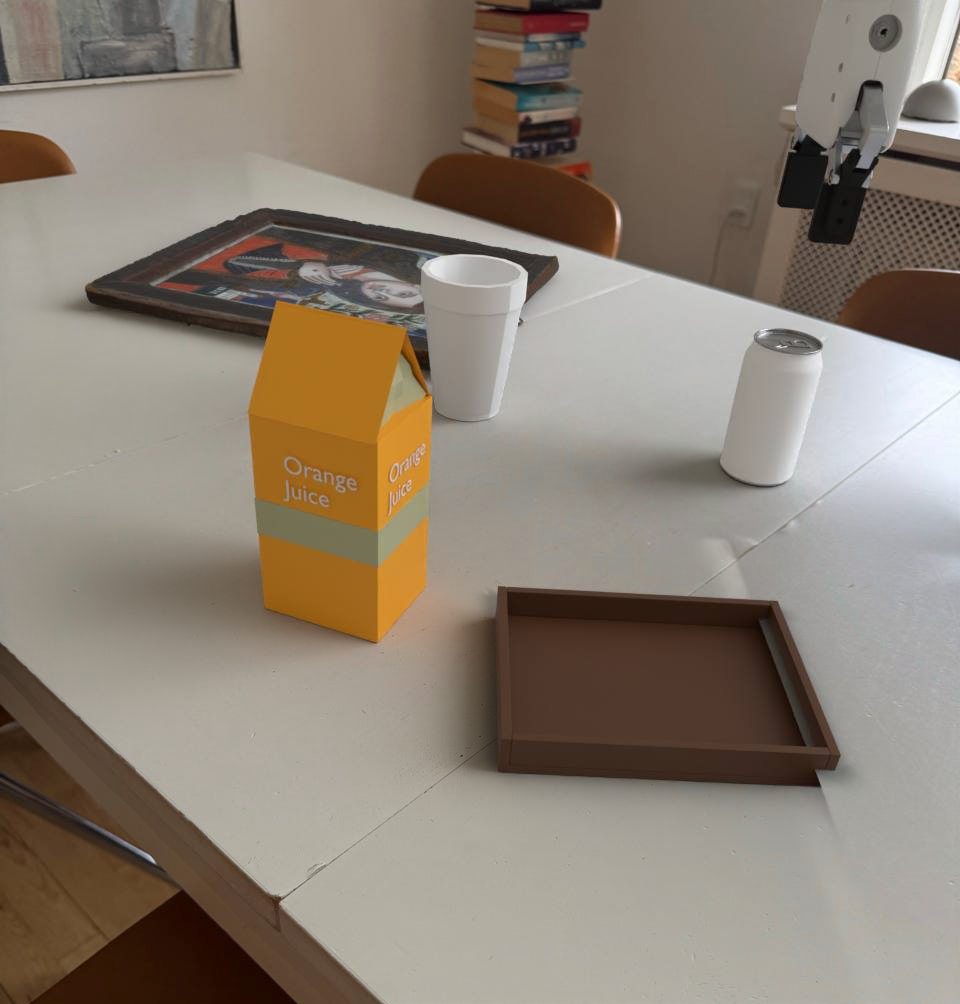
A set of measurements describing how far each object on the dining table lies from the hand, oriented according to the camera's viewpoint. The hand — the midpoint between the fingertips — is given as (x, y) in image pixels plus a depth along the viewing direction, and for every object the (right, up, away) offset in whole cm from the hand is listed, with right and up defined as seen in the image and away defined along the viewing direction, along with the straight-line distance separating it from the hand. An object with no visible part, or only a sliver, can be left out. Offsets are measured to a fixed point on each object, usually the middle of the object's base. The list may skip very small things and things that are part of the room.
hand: (811, 224), depth 77 cm
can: (-1, -17, +12) cm, 21 cm away
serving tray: (-15, -36, -14) cm, 41 cm away
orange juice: (-35, -29, -7) cm, 46 cm away
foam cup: (-27, -10, +20) cm, 35 cm away
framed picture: (-42, +10, +44) cm, 61 cm away
